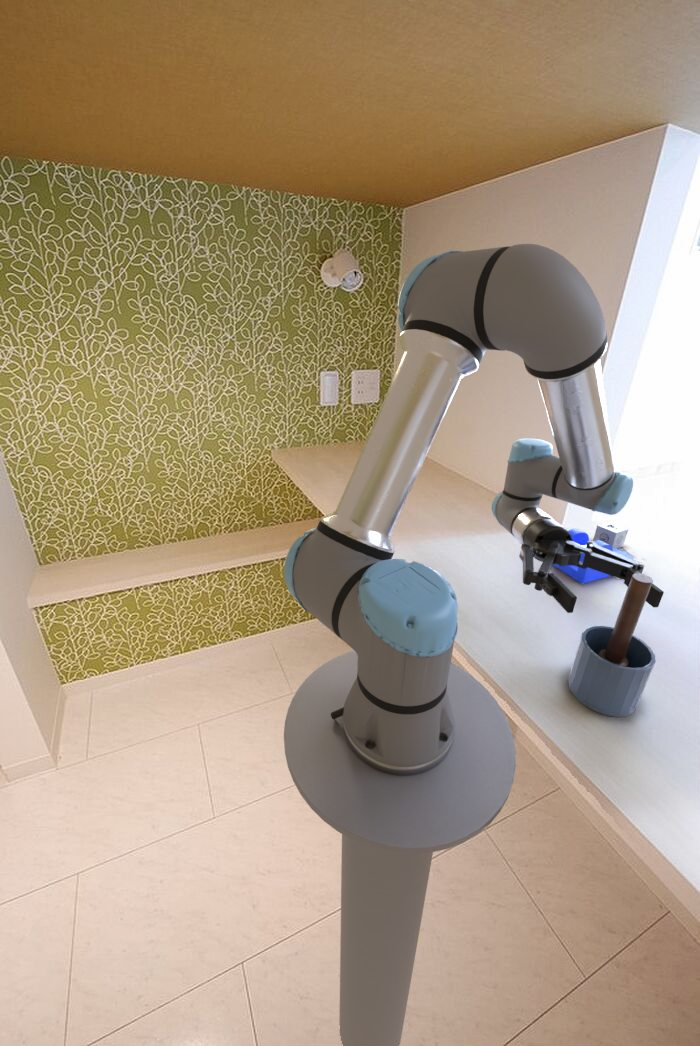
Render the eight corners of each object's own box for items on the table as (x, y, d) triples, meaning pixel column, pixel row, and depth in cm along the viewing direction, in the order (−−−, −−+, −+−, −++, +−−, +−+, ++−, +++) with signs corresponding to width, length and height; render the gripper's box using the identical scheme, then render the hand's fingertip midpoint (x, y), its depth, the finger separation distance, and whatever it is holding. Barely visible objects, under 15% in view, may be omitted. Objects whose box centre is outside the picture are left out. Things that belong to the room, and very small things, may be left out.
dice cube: (604, 538, 114) (609, 521, 112) (622, 546, 110) (628, 528, 108) (592, 542, 112) (597, 525, 110) (610, 550, 108) (616, 533, 106)
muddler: (599, 698, 65) (639, 586, 56) (583, 679, 68) (620, 571, 60) (622, 696, 65) (666, 585, 57) (606, 677, 69) (645, 569, 60)
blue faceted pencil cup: (591, 719, 62) (609, 672, 59) (556, 671, 71) (569, 627, 67) (651, 714, 64) (671, 667, 60) (609, 667, 72) (624, 623, 68)
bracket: (582, 583, 95) (593, 547, 91) (553, 565, 101) (561, 530, 98) (639, 568, 101) (652, 534, 97) (608, 552, 108) (618, 519, 104)
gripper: (597, 550, 85) (684, 617, 66) (475, 556, 82) (530, 628, 63) (607, 515, 82) (702, 576, 63) (481, 520, 79) (540, 585, 60)
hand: (616, 602), depth 63 cm, fingers open, 13 cm apart
